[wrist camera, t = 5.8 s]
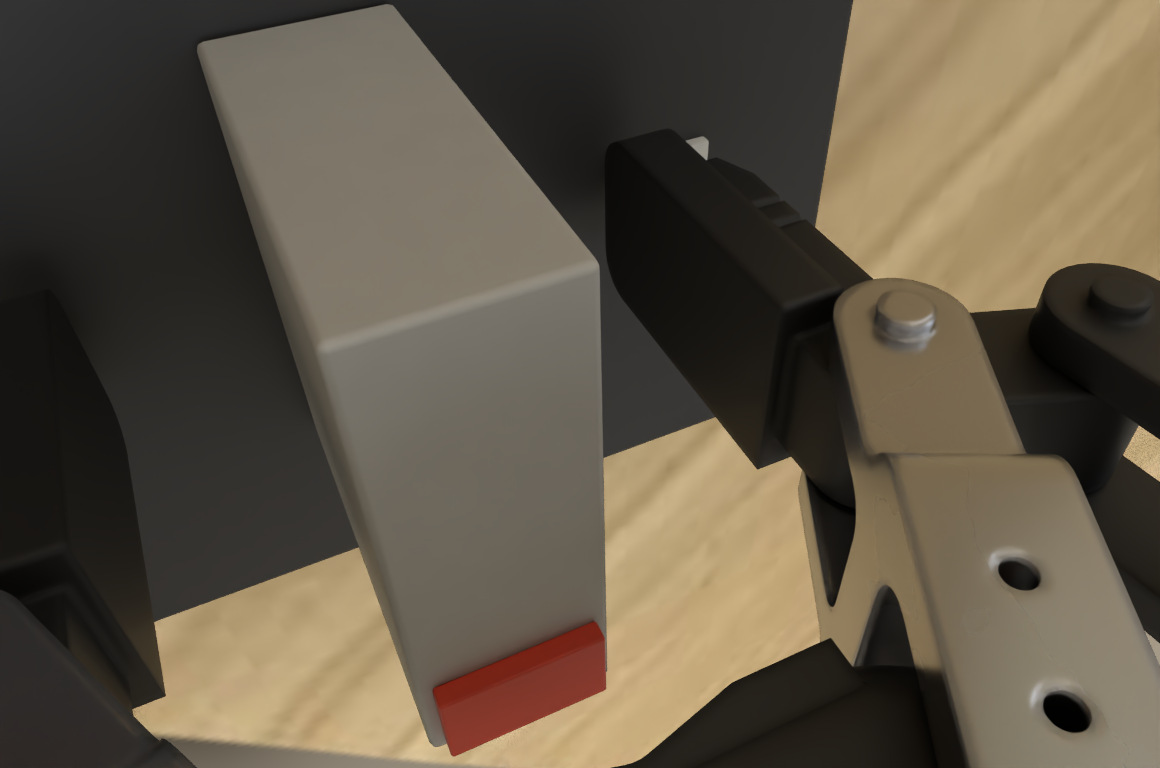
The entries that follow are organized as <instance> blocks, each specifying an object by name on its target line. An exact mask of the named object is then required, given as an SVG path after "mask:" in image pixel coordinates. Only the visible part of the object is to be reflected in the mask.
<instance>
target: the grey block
mask: <svg viewBox="0 0 1160 768" xmlns="http://www.w3.org/2000/svg"><path fill="white" fill-rule="evenodd" d="M197 54H198V57H199V60H200V63H201V66H202V70H203V73H204V76H205V79H206V82H207V85H208V88H209V92H210V95H211V98H212V101H213V104H214V107H215V111H216V114H217V117H218V120H219V123H220V126H221V129H222V133H223V136H224V139H225V142H226V145H227V148H228V152H229V155H230V158H231V161H232V164H233V167H234V170H235V174H236V177H237V180H238V183H239V186H240V189H241V193H242V196H243V199H244V202H245V205H246V208H247V211H248V215H249V218H250V221H251V224H252V227H253V230H254V234H255V237H256V240H257V243H258V246H259V249H260V253H261V256H262V259H263V262H264V265H265V268H266V271H267V275H268V278H269V281H270V284H271V287H272V290H273V294H274V297H275V300H276V303H277V306H278V309H279V312H280V316H281V319H282V322H283V325H284V328H285V331H286V335H287V338H288V341H289V344H290V347H291V350H292V353H293V357H294V360H295V363H296V366H297V369H298V372H299V376H300V379H301V382H302V385H303V388H304V391H305V394H306V398H307V401H308V404H309V407H310V410H311V413H312V417H313V420H314V423H315V426H316V429H317V432H318V435H319V438H320V441H321V443H322V446H323V449H324V452H325V454H326V457H327V460H328V463H329V465H330V468H331V471H332V474H333V476H334V479H335V482H336V485H337V488H338V490H339V493H340V496H341V499H342V501H343V504H344V507H345V510H346V512H347V515H348V518H349V521H350V524H351V526H352V529H353V532H354V535H355V537H356V540H357V543H358V546H359V548H360V551H361V554H362V557H363V559H364V562H365V565H366V568H367V571H368V573H369V576H370V579H371V582H372V584H373V587H374V590H375V593H376V595H377V598H378V601H379V604H380V607H381V609H382V612H383V615H384V618H385V620H386V623H387V626H388V629H389V631H390V634H391V637H392V640H393V642H394V645H395V648H396V651H397V654H398V656H399V659H400V662H401V665H402V667H403V670H404V673H405V676H406V678H407V681H408V684H409V687H410V690H411V692H412V695H413V698H414V701H415V703H416V706H417V709H418V712H419V714H420V717H421V720H422V723H423V725H424V728H425V731H426V734H427V737H428V739H429V742H430V743H431V744H432V745H433V746H434V747H439V746H442V745H444V744H447V745H448V747H449V750H450V753H451V755H452V756H457V755H459V754H461V753H463V752H466V751H468V750H470V749H473V748H475V747H477V746H479V745H482V744H484V743H486V742H488V741H491V740H493V739H495V738H497V737H500V736H502V735H504V734H507V733H509V732H511V731H513V730H516V729H518V728H520V727H522V726H525V725H527V724H529V723H531V722H534V721H536V720H538V719H541V718H543V717H545V716H547V715H550V714H552V713H554V712H556V711H559V710H561V709H563V708H565V707H568V706H570V705H572V704H575V703H577V702H579V701H581V700H584V699H586V698H588V697H590V696H593V695H595V694H597V693H599V692H602V691H604V690H605V689H606V672H607V635H606V582H605V530H604V477H603V424H602V372H601V319H600V269H599V264H598V262H597V260H596V259H595V257H594V256H593V255H592V254H591V252H590V251H589V250H588V249H587V247H586V246H585V245H584V244H583V242H582V241H581V240H580V239H579V237H578V236H577V235H576V234H575V232H574V231H573V230H572V229H571V227H570V226H569V225H568V224H567V222H566V221H565V220H564V219H563V217H562V216H561V215H560V214H559V212H558V211H557V210H556V209H555V207H554V206H553V205H552V204H551V202H550V201H549V200H548V199H547V197H546V196H545V195H544V194H543V192H542V191H541V190H540V189H539V187H538V186H537V185H536V184H535V182H534V181H533V180H532V179H531V177H530V176H529V175H528V174H527V172H526V171H525V170H524V169H523V167H522V166H521V165H520V164H519V162H518V161H517V160H516V159H515V157H514V156H513V155H512V154H511V152H510V151H509V150H508V149H507V147H506V146H505V145H504V144H503V142H502V141H501V140H500V139H499V137H498V136H497V135H496V134H495V132H494V131H493V130H492V129H491V127H490V126H489V125H488V124H487V122H486V121H485V120H484V119H483V117H482V116H481V115H480V114H479V112H478V111H477V110H476V109H475V107H474V106H473V105H472V104H471V102H470V101H469V100H468V99H467V97H466V96H465V95H464V94H463V92H462V91H461V90H460V89H459V87H458V86H457V85H456V84H455V82H454V81H453V80H452V79H451V77H450V76H449V75H448V74H447V72H446V71H445V70H444V69H443V67H442V66H441V65H440V64H439V62H438V61H437V60H436V59H435V57H434V56H433V55H432V54H431V52H430V51H429V50H428V49H427V47H426V46H425V45H424V44H423V42H422V41H421V40H420V39H419V37H418V36H417V35H416V34H415V32H414V31H413V30H412V29H411V27H410V26H409V25H408V24H407V22H406V21H405V20H404V19H403V17H402V16H401V15H400V14H399V12H398V11H397V10H396V9H395V7H394V6H393V5H389V4H385V5H380V6H375V7H370V8H366V9H361V10H356V11H351V12H346V13H341V14H336V15H331V16H326V17H321V18H317V19H312V20H307V21H302V22H297V23H292V24H287V25H282V26H277V27H272V28H268V29H263V30H258V31H253V32H248V33H243V34H238V35H233V36H228V37H223V38H219V39H214V40H209V41H204V42H202V43H200V44H198V46H197Z"/></svg>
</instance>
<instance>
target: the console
mask: <svg viewBox="0 0 1160 768" xmlns="http://www.w3.org/2000/svg"><path fill="white" fill-rule="evenodd" d="M385 4H389V5H393V6H394V7H395V9H396V10H397V11H398V12H399V14H400V15H401V16H402V17H403V19H404V20H405V21H406V22H407V24H408V25H409V26H410V27H411V29H412V30H413V31H414V32H415V34H416V35H417V36H418V37H419V39H420V40H421V41H422V42H423V44H424V45H425V46H426V47H427V49H428V50H429V51H430V52H431V54H432V55H433V56H434V57H435V59H436V60H437V61H438V62H439V64H440V65H441V66H442V67H443V69H444V70H445V71H446V72H447V74H448V75H449V76H450V77H451V79H452V80H453V81H454V82H455V84H456V85H457V86H458V87H459V89H460V90H461V91H462V92H463V94H464V95H465V96H466V97H467V99H468V100H469V101H470V102H471V104H472V105H473V106H474V107H475V109H476V110H477V111H478V112H479V114H480V115H481V116H482V117H483V119H484V120H485V121H486V122H487V124H488V125H489V126H490V127H491V129H492V130H493V131H494V132H495V134H496V135H497V136H498V137H499V139H500V140H501V141H502V142H503V144H504V145H505V146H506V147H507V149H508V150H509V151H510V152H511V154H512V155H513V156H514V157H515V159H516V160H517V161H518V162H519V164H520V165H521V166H522V167H523V169H524V170H525V171H526V172H527V174H528V175H529V176H530V177H531V179H532V180H533V181H534V182H535V184H536V185H537V186H538V187H539V189H540V190H541V191H542V192H543V194H544V195H545V196H546V197H547V199H548V200H549V201H550V202H551V204H552V205H553V206H554V207H555V209H556V210H557V211H558V212H559V214H560V215H561V216H562V217H563V219H564V220H565V221H566V222H567V224H568V225H569V226H570V227H571V229H572V230H573V231H574V232H575V234H576V235H577V236H578V237H579V239H580V240H581V241H582V242H583V244H584V245H585V246H586V247H587V249H588V250H589V251H590V252H591V254H592V255H593V256H594V257H595V259H596V260H597V262H598V264H599V269H600V319H601V372H602V424H603V458H605V457H607V456H610V455H613V454H616V453H618V452H621V451H624V450H627V449H629V448H632V447H635V446H637V445H640V444H643V443H646V442H648V441H651V440H654V439H657V438H659V437H662V436H665V435H668V434H670V433H673V432H676V431H679V430H681V429H684V428H687V427H690V426H692V425H695V424H698V423H701V422H703V421H706V420H709V419H712V418H714V417H715V415H714V414H713V413H712V412H711V410H710V409H709V408H708V407H707V405H706V404H705V403H704V402H703V400H702V399H701V398H700V397H699V395H698V394H697V393H696V391H695V390H694V389H693V388H692V386H691V385H690V384H689V383H688V381H687V380H686V379H685V378H684V376H683V375H682V374H681V373H680V371H679V370H678V369H677V368H676V366H675V365H674V364H673V362H672V361H671V360H670V359H669V357H668V356H667V355H666V354H665V352H664V351H663V350H662V349H661V347H660V346H659V345H658V344H657V342H656V341H655V340H654V339H653V337H652V336H651V335H650V333H649V332H648V331H647V330H646V328H645V327H644V326H643V325H642V323H641V322H640V321H639V320H638V318H637V317H636V316H635V315H634V313H633V312H632V311H631V310H630V308H629V307H628V306H627V304H626V303H625V302H624V301H623V299H622V298H621V297H620V295H619V293H618V292H617V290H616V288H615V286H614V283H613V281H612V278H611V275H610V272H609V268H608V264H607V258H606V242H605V154H606V151H607V148H608V146H609V145H610V144H611V143H613V142H616V141H620V140H624V139H628V138H632V137H635V136H639V135H643V134H647V133H651V132H654V131H658V130H662V129H666V128H668V129H672V130H674V131H675V132H676V133H677V134H679V135H680V136H681V137H682V138H683V139H684V140H685V141H686V142H687V143H688V144H689V145H690V146H691V147H693V148H694V149H695V150H696V151H697V152H698V153H699V154H700V155H701V156H702V157H703V158H704V159H705V160H709V159H712V158H716V157H717V158H719V159H722V160H724V161H726V162H729V163H731V164H733V165H736V166H738V167H740V168H743V169H745V170H747V171H750V172H752V173H754V174H755V175H756V176H757V177H759V178H760V179H761V180H762V181H763V182H764V183H765V184H767V185H768V186H769V187H770V188H771V189H772V190H773V191H774V192H776V193H777V194H778V195H779V198H780V201H784V200H785V201H786V202H787V203H788V204H789V205H790V206H791V207H792V208H794V209H795V210H796V211H797V212H798V213H799V214H800V218H801V220H804V219H806V220H807V221H808V222H809V223H810V224H812V225H813V226H814V227H815V224H816V218H817V212H818V206H819V200H820V194H821V188H822V182H823V176H824V170H825V164H826V158H827V152H828V146H829V140H830V135H831V129H832V123H833V117H834V111H835V105H836V99H837V93H838V87H839V81H840V75H841V69H842V63H843V57H844V51H845V45H846V39H847V33H848V28H849V22H850V16H851V10H852V4H853V0H0V301H4V300H7V299H11V298H15V297H19V296H23V295H27V294H30V293H34V292H38V291H42V290H46V289H50V290H51V291H52V292H53V293H54V294H55V296H56V297H57V299H58V300H59V302H60V304H61V305H62V307H63V309H64V311H65V313H66V315H67V317H68V319H69V321H70V323H71V325H72V327H73V329H74V331H75V332H76V334H77V336H78V338H79V340H80V342H81V344H82V346H83V348H84V350H85V352H86V354H87V356H88V358H89V360H90V362H91V364H92V366H93V368H94V370H95V371H96V373H97V375H98V377H99V379H100V381H101V383H102V385H103V387H104V389H105V391H106V393H107V395H108V397H109V399H110V401H111V404H112V406H113V408H114V411H115V413H116V416H117V419H118V421H119V424H120V427H121V430H122V434H123V437H124V441H125V445H126V449H127V454H128V461H129V467H130V473H131V480H132V486H133V492H134V499H135V505H136V511H137V518H138V524H139V530H140V537H141V543H142V549H143V556H144V562H145V568H146V575H147V581H148V587H149V594H150V600H151V606H152V613H153V619H154V622H155V621H158V620H160V619H163V618H166V617H169V616H171V615H174V614H177V613H180V612H182V611H185V610H188V609H191V608H193V607H196V606H199V605H201V604H204V603H207V602H210V601H212V600H215V599H218V598H221V597H223V596H226V595H229V594H232V593H234V592H237V591H240V590H243V589H245V588H248V587H251V586H254V585H256V584H259V583H262V582H265V581H267V580H270V579H273V578H276V577H278V576H281V575H284V574H286V573H289V572H292V571H295V570H297V569H300V568H303V567H306V566H308V565H311V564H314V563H317V562H319V561H322V560H325V559H328V558H330V557H333V556H336V555H339V554H341V553H344V552H347V551H350V550H352V549H355V548H358V547H359V546H358V543H357V540H356V537H355V535H354V532H353V529H352V526H351V524H350V521H349V518H348V515H347V512H346V510H345V507H344V504H343V501H342V499H341V496H340V493H339V490H338V488H337V485H336V482H335V479H334V476H333V474H332V471H331V468H330V465H329V463H328V460H327V457H326V454H325V452H324V449H323V446H322V443H321V441H320V438H319V435H318V432H317V429H316V426H315V423H314V420H313V417H312V413H311V410H310V407H309V404H308V401H307V398H306V394H305V391H304V388H303V385H302V382H301V379H300V376H299V372H298V369H297V366H296V363H295V360H294V357H293V353H292V350H291V347H290V344H289V341H288V338H287V335H286V331H285V328H284V325H283V322H282V319H281V316H280V312H279V309H278V306H277V303H276V300H275V297H274V294H273V290H272V287H271V284H270V281H269V278H268V275H267V271H266V268H265V265H264V262H263V259H262V256H261V253H260V249H259V246H258V243H257V240H256V237H255V234H254V230H253V227H252V224H251V221H250V218H249V215H248V211H247V208H246V205H245V202H244V199H243V196H242V193H241V189H240V186H239V183H238V180H237V177H236V174H235V170H234V167H233V164H232V161H231V158H230V155H229V152H228V148H227V145H226V142H225V139H224V136H223V133H222V129H221V126H220V123H219V120H218V117H217V114H216V111H215V107H214V104H213V101H212V98H211V95H210V92H209V88H208V85H207V82H206V79H205V76H204V73H203V70H202V66H201V63H200V60H199V57H198V54H197V46H198V44H200V43H202V42H204V41H209V40H214V39H219V38H223V37H228V36H233V35H238V34H243V33H248V32H253V31H258V30H263V29H268V28H272V27H277V26H282V25H287V24H292V23H297V22H302V21H307V20H312V19H317V18H321V17H326V16H331V15H336V14H341V13H346V12H351V11H356V10H361V9H366V8H370V7H375V6H380V5H385Z"/></svg>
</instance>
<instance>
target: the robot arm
mask: <svg viewBox="0 0 1160 768" xmlns="http://www.w3.org/2000/svg"><path fill="white" fill-rule="evenodd" d="M605 242H606V258H607V264H608V268H609V272H610V275H611V278H612V281H613V283H614V286H615V288H616V290H617V292H618V293H619V295H620V297H621V298H622V299H623V301H624V302H625V303H626V304H627V306H628V307H629V308H630V310H631V311H632V312H633V313H634V315H635V316H636V317H637V318H638V320H639V321H640V322H641V323H642V325H643V326H644V327H645V328H646V330H647V331H648V332H649V333H650V335H651V336H652V337H653V339H654V340H655V341H656V342H657V344H658V345H659V346H660V347H661V349H662V350H663V351H664V352H665V354H666V355H667V356H668V357H669V359H670V360H671V361H672V362H673V364H674V365H675V366H676V368H677V369H678V370H679V371H680V373H681V374H682V375H683V376H684V378H685V379H686V380H687V381H688V383H689V384H690V385H691V386H692V388H693V389H694V390H695V391H696V393H697V394H698V395H699V397H700V398H701V399H702V400H703V402H704V403H705V404H706V405H707V407H708V408H709V409H710V410H711V412H712V413H713V414H714V415H715V417H716V418H717V419H718V420H719V422H720V423H721V424H722V426H723V427H724V428H725V429H726V431H727V432H728V433H729V434H730V436H731V437H732V438H733V439H734V441H735V442H736V443H737V444H738V446H739V447H740V448H741V449H742V451H743V452H744V453H745V454H746V456H747V457H748V458H749V460H750V461H751V462H752V463H753V465H754V466H755V467H756V468H757V469H760V468H763V467H765V466H768V465H770V464H773V463H776V462H778V461H781V460H783V459H786V458H788V457H792V458H793V459H794V460H795V461H796V463H797V464H798V465H799V466H800V467H801V469H802V471H801V476H800V481H799V487H798V495H799V502H800V508H801V514H802V520H803V527H804V533H805V539H806V545H807V552H808V558H809V564H810V570H811V577H812V583H813V589H814V595H815V602H816V608H817V614H818V621H819V630H820V643H818V644H816V645H813V646H811V647H809V648H807V649H805V650H802V651H800V652H798V653H796V654H794V655H792V656H789V657H787V658H785V659H783V660H781V661H778V662H776V663H774V664H772V665H770V666H767V667H765V668H763V669H761V670H759V671H756V672H754V673H752V674H750V675H748V676H746V677H743V678H741V679H739V680H737V681H735V682H732V683H731V684H730V685H729V686H727V687H726V688H725V689H724V690H723V691H722V692H720V693H719V694H718V695H717V696H716V697H715V698H713V699H712V700H711V701H710V702H709V703H707V704H706V705H705V706H704V707H703V708H702V709H700V710H699V711H698V712H697V713H696V714H695V715H693V716H692V717H691V718H690V719H689V720H687V721H686V722H685V723H684V724H683V725H682V726H680V727H679V728H678V729H677V730H676V731H675V732H673V733H672V734H671V735H670V736H669V737H668V738H666V739H665V740H664V741H663V742H662V743H660V744H659V745H658V746H657V747H656V748H655V749H653V750H652V751H651V752H650V753H649V754H647V755H646V756H645V757H643V758H642V759H640V760H638V761H636V762H634V763H631V764H627V765H624V766H618V767H613V768H1160V666H1159V663H1158V661H1157V659H1156V656H1155V654H1154V652H1153V650H1152V647H1151V645H1150V643H1149V640H1148V638H1147V636H1146V633H1145V632H1144V630H1145V631H1146V632H1147V633H1148V634H1149V635H1151V636H1152V637H1153V638H1154V639H1156V640H1157V641H1158V642H1159V643H1160V482H1159V481H1158V480H1156V479H1155V478H1153V477H1152V476H1151V475H1149V474H1148V473H1147V472H1145V471H1144V470H1142V469H1141V468H1140V467H1138V466H1137V465H1135V464H1134V463H1133V462H1131V461H1130V460H1128V459H1127V458H1126V457H1124V456H1123V454H1124V452H1125V450H1126V448H1127V446H1128V444H1129V442H1130V441H1131V439H1132V437H1133V435H1134V433H1135V431H1136V429H1137V428H1138V426H1141V427H1142V428H1144V429H1145V430H1147V431H1148V432H1150V433H1151V434H1153V435H1154V436H1155V437H1157V438H1158V439H1160V281H1158V280H1156V279H1155V278H1153V277H1151V276H1149V275H1146V274H1143V273H1141V272H1138V271H1135V270H1132V269H1129V268H1125V267H1121V266H1116V265H1109V264H1098V263H1087V264H1077V265H1073V266H1068V267H1066V268H1063V269H1061V270H1059V271H1057V272H1055V273H1054V274H1053V275H1052V276H1051V277H1050V278H1049V279H1048V280H1047V282H1046V284H1045V286H1044V289H1043V291H1042V294H1041V296H1040V299H1039V302H1038V304H1037V307H1036V308H1029V309H1016V310H1002V311H989V312H975V313H969V312H968V310H967V309H966V308H965V307H964V305H962V304H961V303H960V302H959V301H958V300H957V299H955V298H954V297H952V296H951V295H949V294H948V293H946V292H944V291H942V290H940V289H938V288H936V287H934V286H931V285H928V284H925V283H922V282H918V281H914V280H907V279H899V278H881V279H873V278H871V277H870V276H869V275H868V274H867V273H866V272H865V271H864V270H862V269H861V268H860V267H859V266H858V265H857V264H856V263H854V262H853V261H852V260H851V259H850V258H849V257H848V256H847V255H845V254H844V253H843V252H842V251H841V250H840V249H839V248H838V247H836V246H835V245H834V244H833V243H832V242H831V241H830V240H829V239H827V238H826V237H825V236H824V235H823V234H822V233H821V232H820V231H818V230H817V229H816V228H815V227H814V226H813V225H812V224H810V223H809V222H808V221H807V220H806V219H804V220H801V218H800V214H799V213H798V212H797V211H796V210H795V209H794V208H792V207H791V206H790V205H789V204H788V203H787V202H786V201H785V200H784V201H780V198H779V195H778V194H777V193H776V192H774V191H773V190H772V189H771V188H770V187H769V186H768V185H767V184H765V183H764V182H763V181H762V180H761V179H760V178H759V177H757V176H756V175H755V174H754V173H752V172H750V171H747V170H745V169H743V168H740V167H738V166H736V165H733V164H731V163H729V162H726V161H724V160H722V159H719V158H717V157H716V158H712V159H709V160H705V159H704V158H703V157H702V156H701V155H700V154H699V153H698V152H697V151H696V150H695V149H694V148H693V147H691V146H690V145H689V144H688V143H687V142H686V141H685V140H684V139H683V138H682V137H681V136H680V135H679V134H677V133H676V132H675V131H674V130H672V129H668V128H666V129H662V130H658V131H654V132H651V133H647V134H643V135H639V136H635V137H632V138H628V139H624V140H620V141H616V142H613V143H611V144H610V145H609V146H608V148H607V151H606V154H605ZM165 696H166V695H165V688H164V682H163V676H162V670H161V663H160V657H159V651H158V644H157V638H156V632H155V625H154V619H153V613H152V606H151V600H150V594H149V587H148V581H147V575H146V568H145V562H144V556H143V549H142V543H141V537H140V530H139V524H138V518H137V511H136V505H135V499H134V492H133V486H132V480H131V473H130V467H129V461H128V454H127V449H126V445H125V441H124V437H123V434H122V430H121V427H120V424H119V421H118V419H117V416H116V413H115V411H114V408H113V406H112V404H111V401H110V399H109V397H108V395H107V393H106V391H105V389H104V387H103V385H102V383H101V381H100V379H99V377H98V375H97V373H96V371H95V370H94V368H93V366H92V364H91V362H90V360H89V358H88V356H87V354H86V352H85V350H84V348H83V346H82V344H81V342H80V340H79V338H78V336H77V334H76V332H75V331H74V329H73V327H72V325H71V323H70V321H69V319H68V317H67V315H66V313H65V311H64V309H63V307H62V305H61V304H60V302H59V300H58V299H57V297H56V296H55V294H54V293H53V292H52V291H51V290H50V289H46V290H42V291H38V292H34V293H30V294H27V295H23V296H19V297H15V298H11V299H7V300H4V301H0V768H196V767H195V766H194V765H193V764H192V763H191V762H190V761H189V760H188V759H187V758H186V757H185V756H184V755H183V754H182V753H181V752H180V751H179V750H178V749H177V748H176V747H174V746H173V745H172V744H171V743H170V742H168V741H167V740H165V739H161V740H160V741H159V740H158V739H156V738H155V737H154V736H153V735H152V734H151V733H150V732H149V731H148V730H147V729H146V728H145V727H144V726H143V725H142V724H141V723H140V722H139V721H138V720H137V719H136V718H135V717H134V716H133V711H132V709H134V708H136V707H139V706H141V705H144V704H147V703H149V702H152V701H154V700H157V699H159V698H162V697H165Z"/></svg>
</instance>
